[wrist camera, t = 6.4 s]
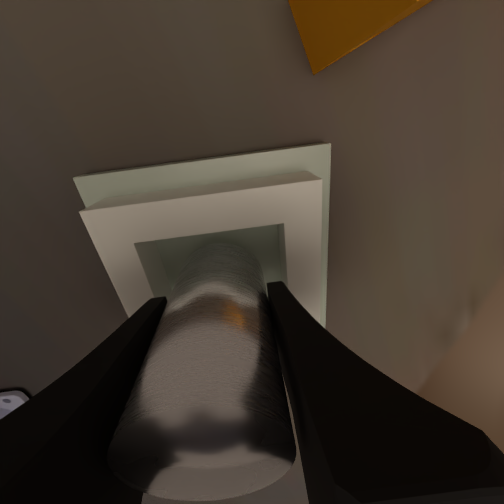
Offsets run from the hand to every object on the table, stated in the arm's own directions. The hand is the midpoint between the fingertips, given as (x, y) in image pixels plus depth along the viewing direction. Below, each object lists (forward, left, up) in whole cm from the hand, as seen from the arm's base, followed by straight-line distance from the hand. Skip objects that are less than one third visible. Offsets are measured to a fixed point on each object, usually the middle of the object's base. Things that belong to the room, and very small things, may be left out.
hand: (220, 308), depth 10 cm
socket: (0, 0, -4) cm, 4 cm away
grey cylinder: (0, 0, -2) cm, 2 cm away
